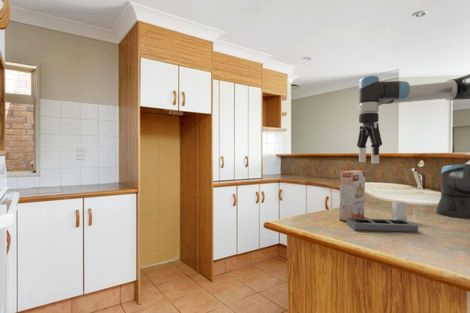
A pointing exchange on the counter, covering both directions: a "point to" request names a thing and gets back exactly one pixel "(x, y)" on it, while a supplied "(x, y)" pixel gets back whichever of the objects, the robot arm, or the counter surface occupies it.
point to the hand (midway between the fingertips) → (368, 162)
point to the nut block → (399, 210)
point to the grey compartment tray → (382, 225)
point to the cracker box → (352, 194)
